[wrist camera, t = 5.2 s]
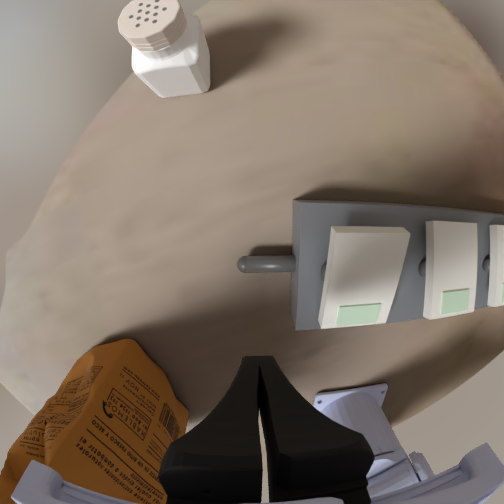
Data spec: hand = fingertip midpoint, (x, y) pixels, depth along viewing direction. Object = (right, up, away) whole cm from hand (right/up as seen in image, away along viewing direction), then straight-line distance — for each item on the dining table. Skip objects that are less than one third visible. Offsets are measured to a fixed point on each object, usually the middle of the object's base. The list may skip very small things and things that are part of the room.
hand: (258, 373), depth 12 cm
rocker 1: (+7, +4, +6) cm, 10 cm away
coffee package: (-12, -8, +13) cm, 19 cm away
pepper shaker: (-5, +19, +6) cm, 21 cm away
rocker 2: (+15, +4, +6) cm, 17 cm away
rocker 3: (+23, +4, +6) cm, 24 cm away
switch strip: (+13, +5, +10) cm, 17 cm away
